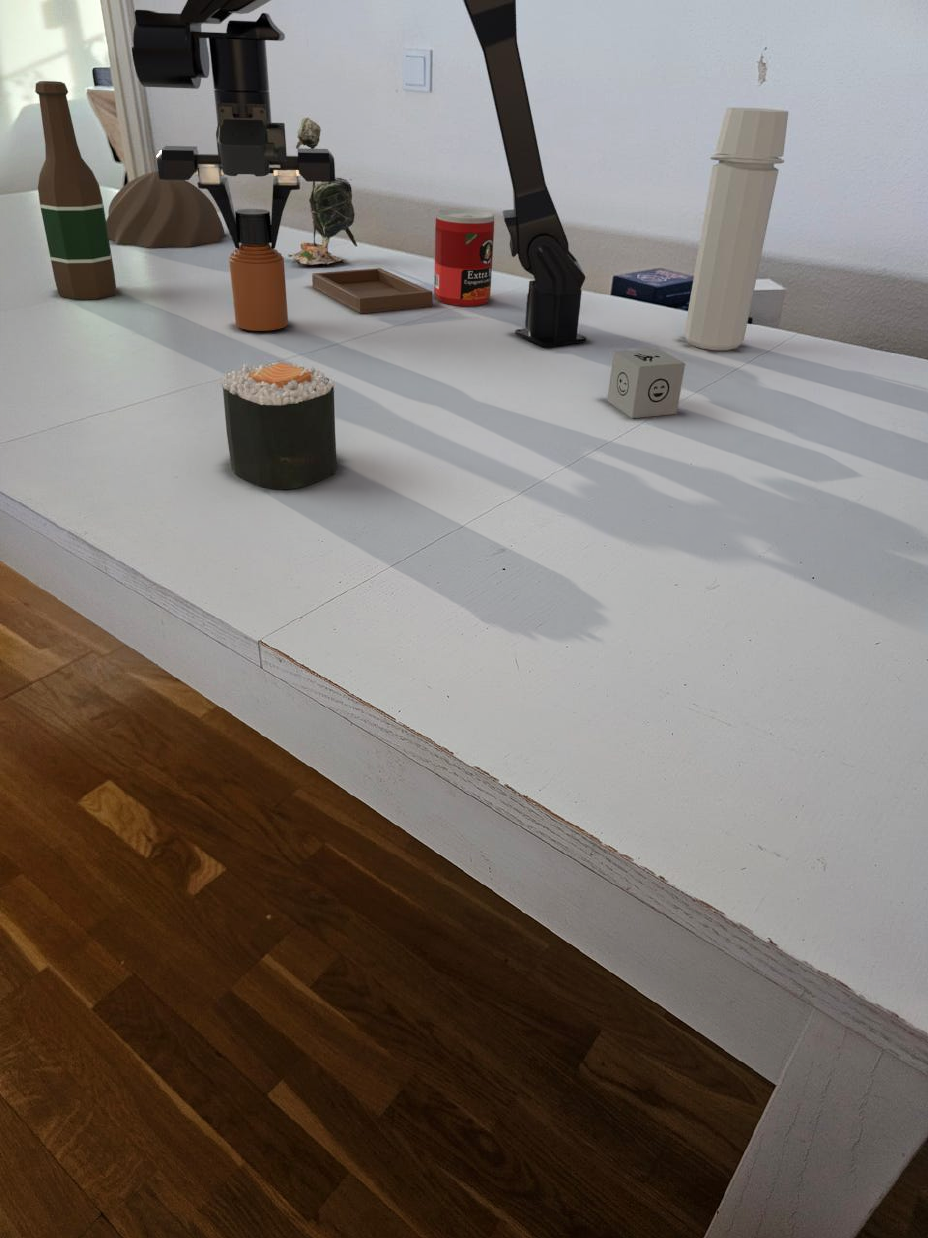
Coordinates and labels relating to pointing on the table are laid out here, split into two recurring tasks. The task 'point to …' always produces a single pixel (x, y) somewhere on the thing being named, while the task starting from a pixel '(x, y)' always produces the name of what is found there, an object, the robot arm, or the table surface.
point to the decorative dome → (162, 214)
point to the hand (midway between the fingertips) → (255, 247)
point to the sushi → (280, 425)
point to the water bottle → (734, 226)
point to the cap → (253, 226)
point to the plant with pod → (325, 206)
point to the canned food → (463, 256)
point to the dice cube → (645, 382)
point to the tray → (371, 290)
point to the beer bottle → (71, 205)
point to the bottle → (258, 288)
